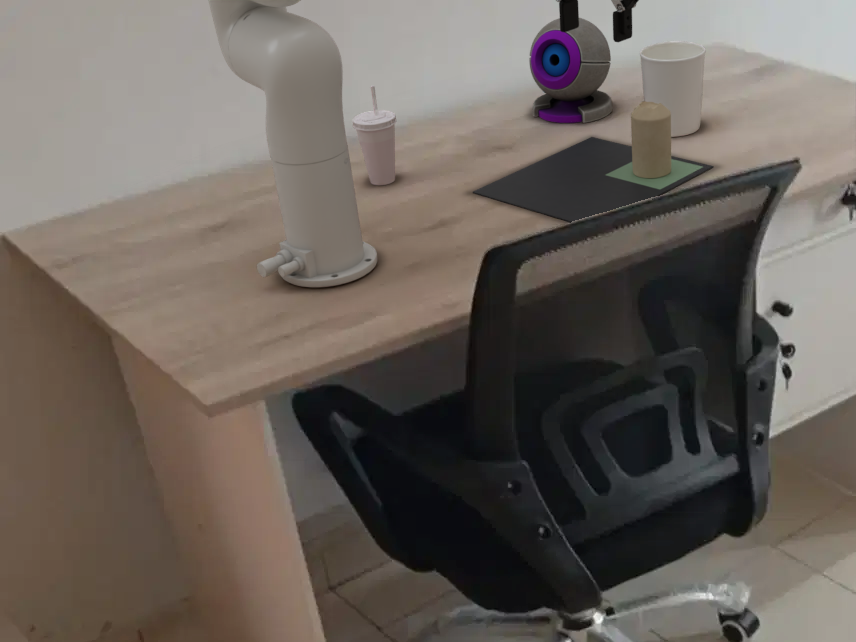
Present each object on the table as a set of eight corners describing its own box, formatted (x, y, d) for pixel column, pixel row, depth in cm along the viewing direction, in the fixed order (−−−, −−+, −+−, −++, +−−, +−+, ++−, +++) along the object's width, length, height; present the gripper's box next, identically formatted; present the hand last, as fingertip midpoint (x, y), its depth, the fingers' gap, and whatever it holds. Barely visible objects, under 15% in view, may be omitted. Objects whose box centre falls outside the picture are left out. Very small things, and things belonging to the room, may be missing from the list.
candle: (677, 167, 179) (677, 98, 173) (661, 180, 175) (660, 111, 169) (643, 162, 181) (641, 95, 176) (626, 176, 177) (623, 107, 172)
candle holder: (703, 138, 188) (703, 59, 182) (638, 139, 190) (636, 60, 184) (707, 116, 196) (707, 40, 190) (644, 117, 198) (643, 41, 192)
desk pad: (594, 229, 163) (594, 228, 163) (472, 192, 177) (472, 191, 177) (713, 167, 178) (713, 165, 178) (591, 137, 192) (591, 136, 192)
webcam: (518, 119, 202) (511, 25, 194) (557, 95, 211) (552, 4, 203) (589, 128, 196) (585, 31, 188) (626, 102, 205) (623, 9, 197)
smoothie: (413, 177, 184) (401, 84, 177) (381, 191, 181) (367, 97, 173) (384, 169, 188) (371, 77, 181) (352, 183, 185) (337, 90, 177)
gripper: (523, -99, 164) (531, 32, 173) (623, -89, 153) (626, 50, 163) (562, -109, 169) (568, 20, 178) (662, -100, 158) (662, 37, 167)
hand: (595, 34), depth 170 cm, fingers open, 9 cm apart
